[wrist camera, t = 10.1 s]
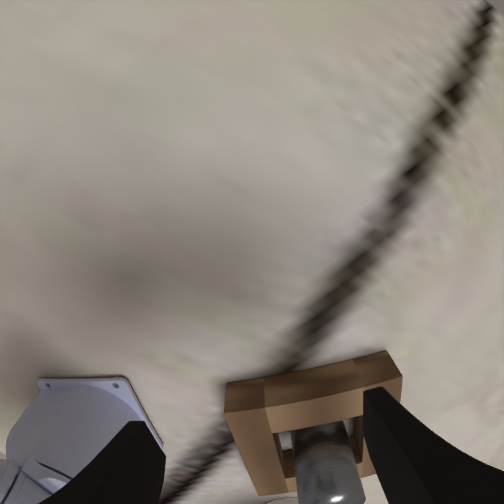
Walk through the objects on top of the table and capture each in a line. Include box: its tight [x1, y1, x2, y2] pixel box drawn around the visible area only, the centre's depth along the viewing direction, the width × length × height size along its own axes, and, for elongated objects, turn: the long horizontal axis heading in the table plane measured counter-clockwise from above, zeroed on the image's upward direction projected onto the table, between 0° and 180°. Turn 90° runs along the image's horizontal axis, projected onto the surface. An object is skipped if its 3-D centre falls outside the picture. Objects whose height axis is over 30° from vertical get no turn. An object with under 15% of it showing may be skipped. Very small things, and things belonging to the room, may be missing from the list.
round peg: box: [290, 420, 366, 504], centre depth 18 cm, size 4×4×8 cm
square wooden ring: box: [224, 350, 403, 496], centre depth 20 cm, size 11×11×3 cm
